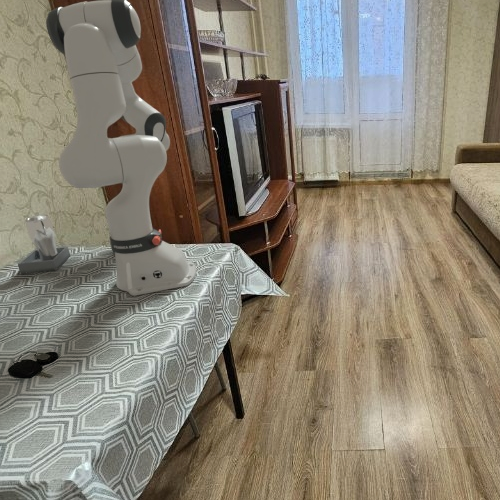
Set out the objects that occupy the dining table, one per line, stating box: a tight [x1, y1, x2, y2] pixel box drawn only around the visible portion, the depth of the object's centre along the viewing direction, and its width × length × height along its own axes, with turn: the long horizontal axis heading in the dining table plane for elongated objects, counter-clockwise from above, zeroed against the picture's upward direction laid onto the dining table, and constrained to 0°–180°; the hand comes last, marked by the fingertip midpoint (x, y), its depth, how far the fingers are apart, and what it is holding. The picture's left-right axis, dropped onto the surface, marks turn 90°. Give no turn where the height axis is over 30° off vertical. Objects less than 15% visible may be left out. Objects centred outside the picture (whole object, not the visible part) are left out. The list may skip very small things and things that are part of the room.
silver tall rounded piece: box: [24, 214, 59, 261], centre depth 120 cm, size 7×7×15 cm
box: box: [17, 246, 71, 275], centre depth 123 cm, size 11×11×4 cm
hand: (89, 156), depth 122 cm, fingers open, 8 cm apart
